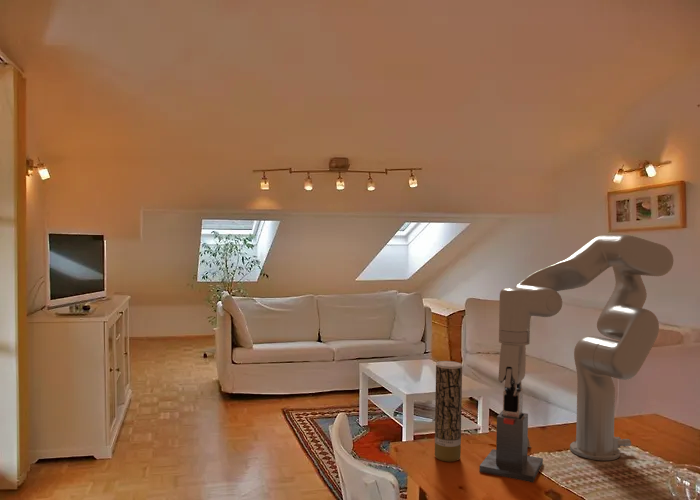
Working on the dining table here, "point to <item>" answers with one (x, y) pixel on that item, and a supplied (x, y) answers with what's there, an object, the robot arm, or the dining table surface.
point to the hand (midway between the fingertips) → (512, 408)
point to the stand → (512, 451)
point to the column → (519, 408)
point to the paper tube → (448, 411)
